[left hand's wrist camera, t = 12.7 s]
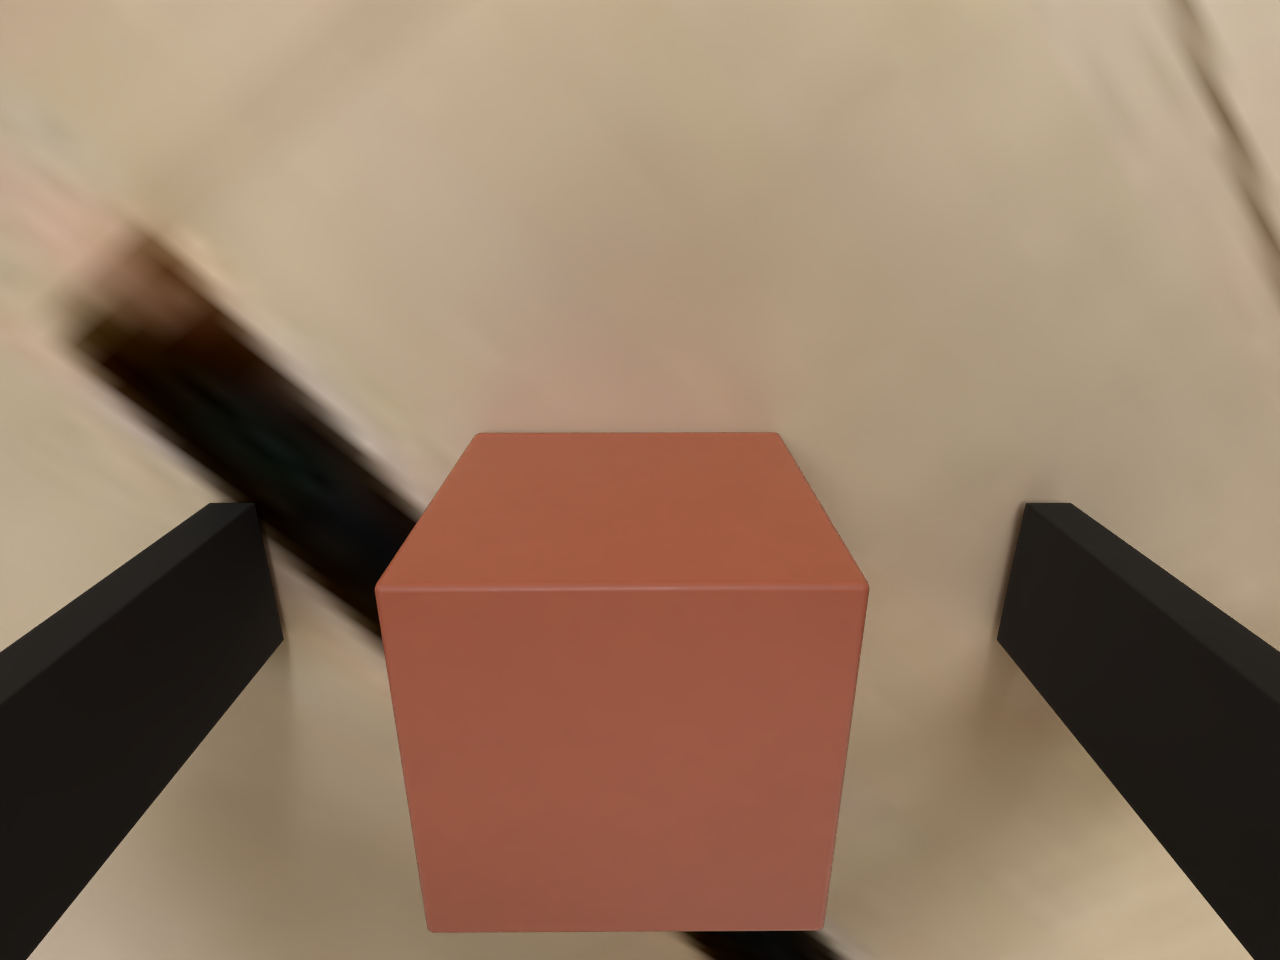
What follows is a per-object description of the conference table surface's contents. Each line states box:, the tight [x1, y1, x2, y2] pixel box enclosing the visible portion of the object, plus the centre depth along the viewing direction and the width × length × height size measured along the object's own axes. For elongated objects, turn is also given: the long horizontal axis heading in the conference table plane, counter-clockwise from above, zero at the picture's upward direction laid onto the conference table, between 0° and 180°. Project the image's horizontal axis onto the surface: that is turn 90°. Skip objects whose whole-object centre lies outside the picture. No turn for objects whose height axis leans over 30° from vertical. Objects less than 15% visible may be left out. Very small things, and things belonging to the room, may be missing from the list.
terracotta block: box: [375, 433, 869, 933], centre depth 10 cm, size 5×5×5 cm
